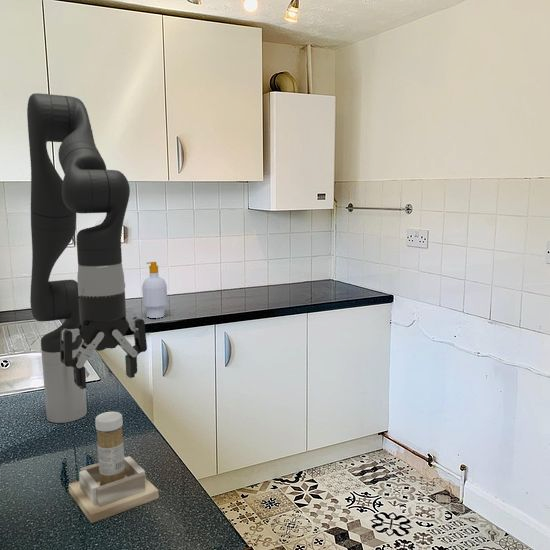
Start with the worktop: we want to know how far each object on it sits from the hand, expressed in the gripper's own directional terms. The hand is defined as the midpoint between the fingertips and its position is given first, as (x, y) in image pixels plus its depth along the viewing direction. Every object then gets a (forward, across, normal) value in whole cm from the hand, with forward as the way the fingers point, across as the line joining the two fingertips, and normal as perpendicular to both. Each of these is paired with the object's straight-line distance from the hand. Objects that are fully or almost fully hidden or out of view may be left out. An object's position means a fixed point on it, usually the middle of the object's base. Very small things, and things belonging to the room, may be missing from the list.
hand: (106, 382), depth 94 cm
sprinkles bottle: (+20, 0, 0) cm, 20 cm away
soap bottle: (+22, -66, -124) cm, 142 cm away
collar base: (+21, 0, 0) cm, 21 cm away
